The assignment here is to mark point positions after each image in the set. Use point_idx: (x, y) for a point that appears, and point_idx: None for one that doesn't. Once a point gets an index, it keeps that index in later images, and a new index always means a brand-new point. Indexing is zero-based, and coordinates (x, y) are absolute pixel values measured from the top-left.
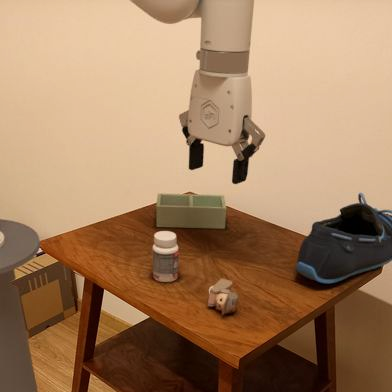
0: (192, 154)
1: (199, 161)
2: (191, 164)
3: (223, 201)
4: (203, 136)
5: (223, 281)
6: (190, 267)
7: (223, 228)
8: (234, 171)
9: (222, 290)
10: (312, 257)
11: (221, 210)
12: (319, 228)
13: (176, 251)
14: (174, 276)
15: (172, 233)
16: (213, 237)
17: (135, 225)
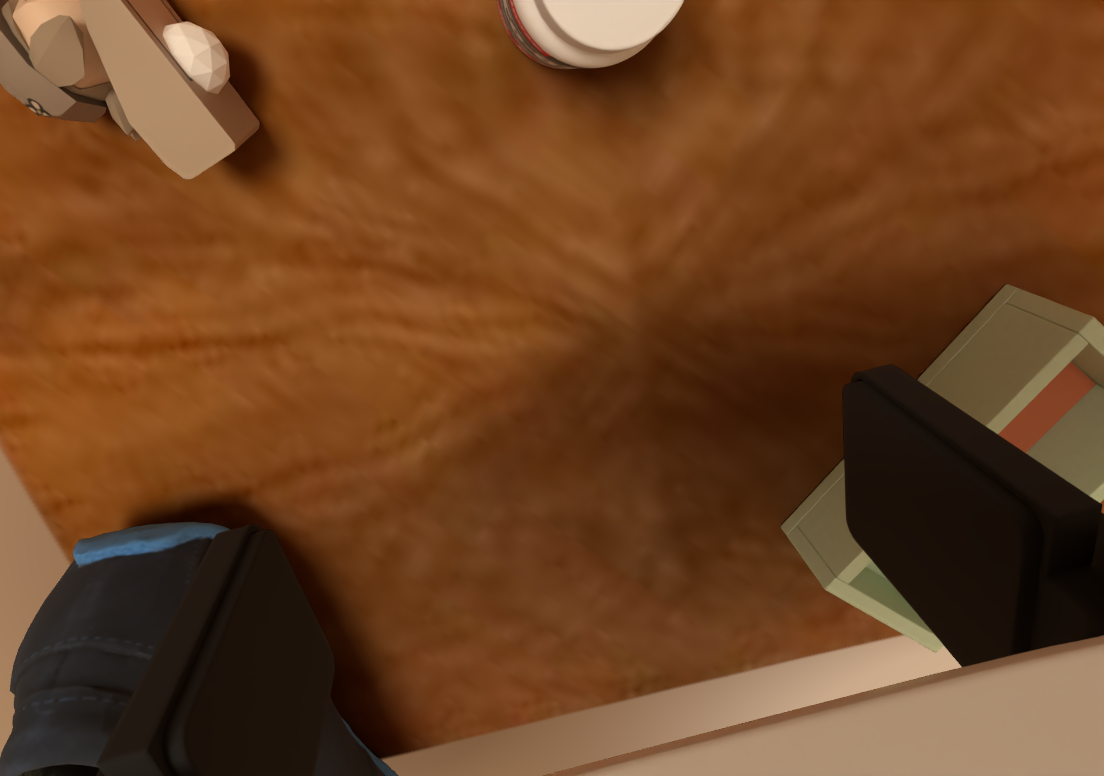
0: (956, 466)
1: (880, 519)
2: (888, 402)
3: (888, 617)
4: (844, 771)
5: (193, 128)
6: (577, 179)
7: (784, 523)
8: (192, 621)
9: (51, 27)
10: (68, 595)
11: (834, 566)
12: (24, 742)
13: (517, 11)
14: (499, 5)
15: (611, 29)
16: (749, 444)
17: (1095, 201)
